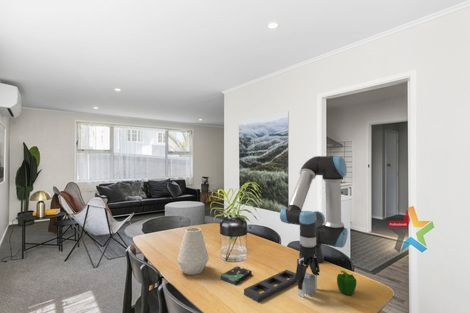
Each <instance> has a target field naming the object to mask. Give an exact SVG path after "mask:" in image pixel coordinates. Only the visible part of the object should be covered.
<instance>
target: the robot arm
mask: <svg viewBox="0 0 470 313" xmlns="http://www.w3.org/2000/svg"><path fill="white" fill-rule="evenodd" d="M347 170H348V169H347V164H346V161H345V159H344V157H342V156H339V155H326V156H325V155H324V156H323V155H319V156H318V155H317V156H313V157H311V158H310V159H308V160H306V161H305V162H304V164H302V167H301V169H300V170H299V177H298V180H297V183H296V186H295V188H294V190H293V193H292V196H291V198H290V200H289V203H288V206H287V208H285V207H284V208H282V209H280V213H279V219H280V221H281V222H282V223H284V224H288V225H290V224H291V225H296V226H299V253H298V256H299V258H297V260H296V262H297V263H296V264H297V265H296V271H295V273H296V276H295V281H296V283H297V292H298V293H297V295H298V296H300V297H302V298H305V294H304V282H303V281H304V277H305V273H306V272H307V271H308V270H307V269H308V268H310V271H311V274H312V275H315V290H317V289H318V276H320V272H321V270H320V264H319V263H322V262H324V261H325V255H324V252H323V249H322V245H325V246H329V247H334V248H340V249H341V248H344V247H345V245H346V242H347V240H348V234H349V231H348V228H347V227H345V224H344V222H343V221H342V193H341V192H342V189H341V188H342V186H341V184H342V183H341V182H342V181H343V180H344V177H346V176H347ZM317 176H322V180H323V181H324V183H325V186H324V187H325V214H323V212H321V211H319V210H315V211H312V210H303V207H304V204H305V202H306V199H307V196H308V194H309V190H310V188H311V184H312V183H313V180H315V179H316V177H317Z"/></svg>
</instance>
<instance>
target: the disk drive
mask: <svg viewBox="0 0 470 313" xmlns="http://www.w3.org/2000/svg"><path fill="white" fill-rule="evenodd" d="M252 272H253V271H252V270H250V269H247V268H243V267H242V268H241V267H240V266H238V265H236V266H234V267H233V268H231V269H229V270H228V271H225V272H224V273H223V274H221V275H220V281H223V282H226V283H228V284H231V285H234V286H237V285H238V284H240V283H241V282H243V281H245V280H246V279H248V278H249V277H251V276H252V275H253V274H252Z"/></svg>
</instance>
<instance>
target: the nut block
mask: <svg viewBox="0 0 470 313" xmlns="http://www.w3.org/2000/svg"><path fill="white" fill-rule="evenodd" d="M312 274H313V273H309V272H307V271H306V273H305V277H304V281H303V282H304V295H305V294H306V295H305V296H307V295H308V296H307V297H309V296H310V297H311V296H313V295H314V294H316V289H315V275H312ZM312 294H313V295H312Z"/></svg>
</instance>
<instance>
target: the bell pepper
mask: <svg viewBox="0 0 470 313" xmlns="http://www.w3.org/2000/svg"><path fill="white" fill-rule="evenodd" d="M336 284H337V287H338V288H337V289H338V290H339V292H340V293H342V294H345V295H347V296H352V295H353V294H355V291H356V288H357V279H356V277H355V276H354V275H353V274H350V273H347V272H346V271H345V270H340V273H338V274H337V276H336Z"/></svg>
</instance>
